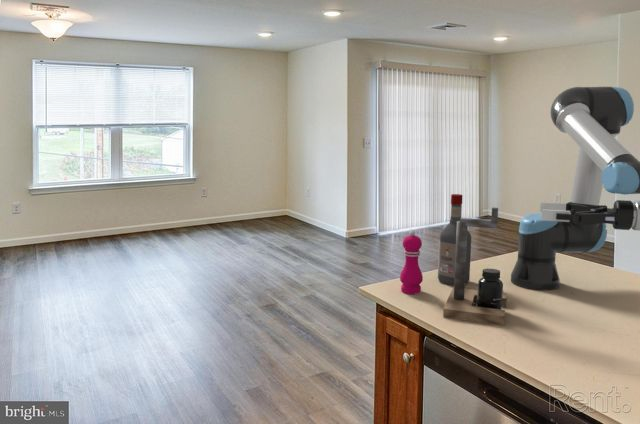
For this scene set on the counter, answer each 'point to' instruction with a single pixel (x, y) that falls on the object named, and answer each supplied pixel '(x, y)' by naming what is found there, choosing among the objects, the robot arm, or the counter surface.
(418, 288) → the pepper mill
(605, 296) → the counter surface
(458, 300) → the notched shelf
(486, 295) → the supplement bottle
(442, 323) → the counter surface
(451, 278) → the liquor
